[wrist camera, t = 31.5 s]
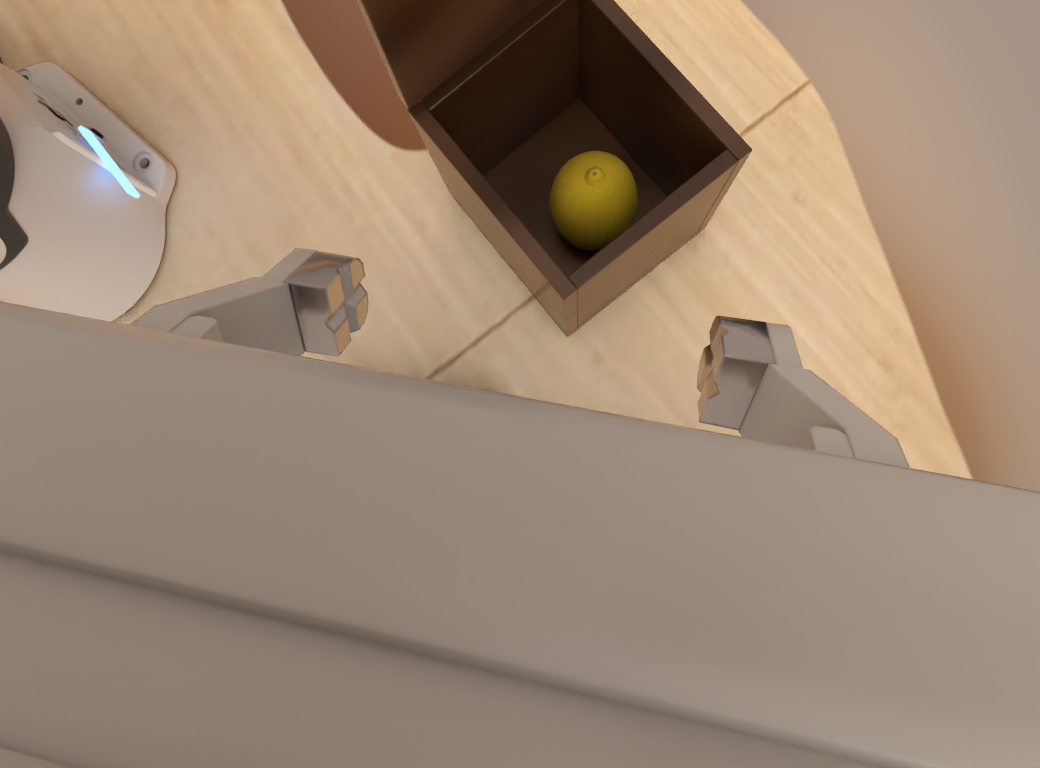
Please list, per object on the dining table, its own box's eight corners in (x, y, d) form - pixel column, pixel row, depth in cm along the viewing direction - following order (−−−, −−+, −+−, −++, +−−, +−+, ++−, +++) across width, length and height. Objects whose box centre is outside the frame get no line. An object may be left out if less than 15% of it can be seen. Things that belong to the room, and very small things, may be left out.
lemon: (628, 184, 39) (640, 121, 31) (634, 261, 39) (649, 216, 31) (549, 192, 40) (542, 132, 32) (554, 268, 39) (548, 226, 31)
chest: (705, 228, 39) (753, 149, 29) (567, 337, 40) (563, 300, 29) (581, 89, 41) (582, -34, 31) (450, 194, 42) (406, 109, 31)
